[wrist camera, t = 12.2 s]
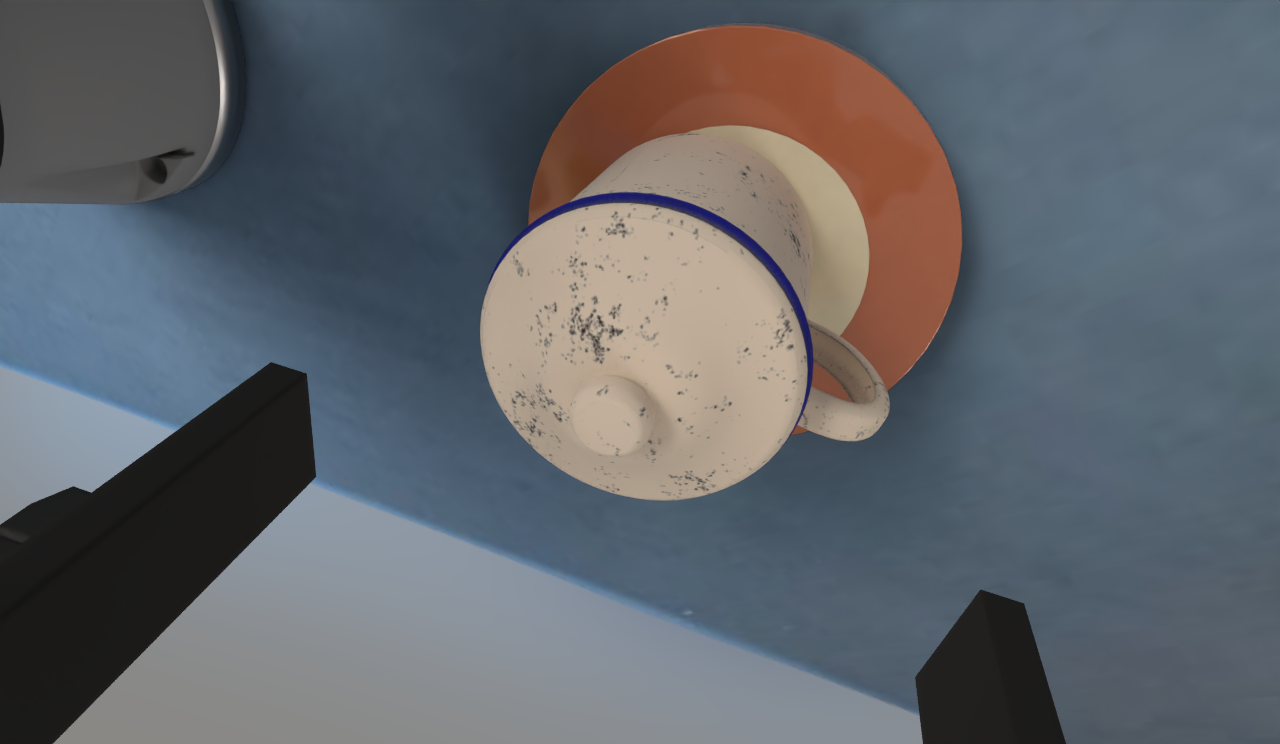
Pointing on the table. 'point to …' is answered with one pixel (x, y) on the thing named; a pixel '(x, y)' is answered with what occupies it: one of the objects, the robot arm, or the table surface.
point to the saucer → (795, 169)
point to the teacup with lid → (670, 326)
